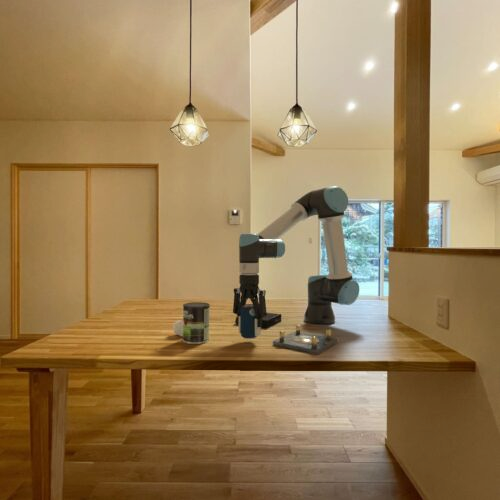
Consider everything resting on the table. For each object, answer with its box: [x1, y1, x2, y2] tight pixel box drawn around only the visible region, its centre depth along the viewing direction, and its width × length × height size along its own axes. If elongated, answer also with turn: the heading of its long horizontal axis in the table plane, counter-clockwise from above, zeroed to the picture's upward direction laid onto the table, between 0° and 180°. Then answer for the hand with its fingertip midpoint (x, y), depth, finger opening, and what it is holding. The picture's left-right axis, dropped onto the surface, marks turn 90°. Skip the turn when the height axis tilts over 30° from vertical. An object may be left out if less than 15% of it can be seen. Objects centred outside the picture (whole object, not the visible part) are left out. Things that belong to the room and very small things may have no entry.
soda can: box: [239, 303, 258, 340], centre depth 122 cm, size 7×7×12 cm
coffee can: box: [182, 301, 211, 345], centre depth 124 cm, size 10×10×14 cm
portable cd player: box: [234, 312, 282, 329], centre depth 155 cm, size 16×17×4 cm
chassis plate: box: [272, 324, 338, 355], centre depth 120 cm, size 18×18×5 cm
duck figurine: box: [172, 311, 183, 337], centre depth 133 cm, size 12×8×11 cm
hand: (249, 333), depth 122 cm, fingers closed on soda can, 7 cm apart
